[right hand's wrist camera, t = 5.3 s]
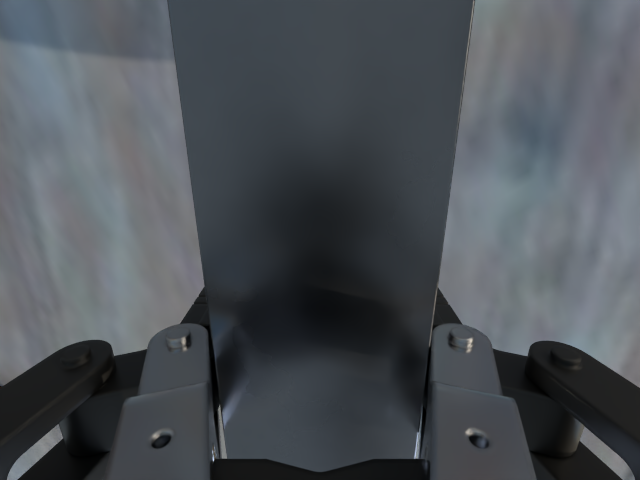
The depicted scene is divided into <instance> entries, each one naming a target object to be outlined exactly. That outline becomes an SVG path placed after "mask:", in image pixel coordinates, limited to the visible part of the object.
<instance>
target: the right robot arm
mask: <svg viewBox="0 0 640 480" xmlns="http://www.w3.org/2000/svg"><path fill="white" fill-rule="evenodd" d="M219 405H220V399H219V392H218V384H217V376H216V369H215V361H214V353H213V346H212V338H211V330H210V323H209V315H208V308H207V300H206V292H205V287H204V288H203V290H202V291H201V293H200V294H199V297H197V299H196V300H195V302H194V304H193V305H192V306H191V308H190V309H189V311H188V313H187V314H186V316H185V317H184V319H183V320H182V322H181V323H180V324H178V325H174V326H171V327H168V328H166V329H164V330H162V331H160V332H158V333H157V334H156V335H155V336H154V337H153V338H152V339H151V340H150V342H149V344H148V348H147V349H146V350H142V351H137V352H132V353H127V354H122V355H117V356H114V354H113V350H112V347H111V345H110V344H109V343H108V342H106V341H102V340H88V341H82V342H78V343H75V344H72V345H69V346H67V347H64V348H62V349H60V350H58V351H57V352H55V353H53V354H52V355H50V356H49V357H47V358H46V359H44V360H43V361H41V362H40V363H38V364H37V365H35V366H33V367H32V368H30V369H29V370H27V371H26V372H24V373H23V374H21V375H20V376H18V377H17V378H15V379H13V380H12V381H10V382H9V383H7V384H6V385H4V386H3V387H1V388H0V480H7V476H8V473H9V471H10V469H11V467H12V466H13V464H14V463H15V462H16V460H17V459H18V458H19V457H20V456H21V455H22V454H23V453H24V452H26V451H27V450H28V449H29V448H30V447H31V446H33V445H34V444H35V443H36V442H37V441H39V440H40V439H41V438H42V437H43V436H44V435H46V434H47V433H48V432H49V431H50V430H51V429H53V428H54V427H55V426H56V425H57V424H59V427H60V430H61V433H62V435H63V439H62V440H61V441H60V442H59V443H58V444H57V445H55V446H54V447H53V448H52V449H51V450H50V451H49V452H48V453H47V454H45V455H44V456H43V457H42V458H41V459H40V460H39V461H38V462H37V463H35V464H34V465H33V466H32V467H31V468H30V469H29V470H28V471H27V472H26V473H24V474H23V475H22V476H21V477H20V478H19V479H18V480H622V479H621V478H620V477H619V476H618V475H617V474H616V473H615V472H613V471H612V470H611V469H610V468H609V467H608V466H607V465H606V464H605V463H603V462H602V461H601V460H600V459H599V458H598V457H597V456H596V455H595V454H593V453H592V452H591V451H590V450H589V449H588V448H587V447H586V446H585V445H583V444H582V443H581V442H580V441H579V440H580V438H581V435H582V432H583V429H584V426H585V427H586V428H587V429H589V430H590V431H591V432H592V433H593V434H594V435H596V436H597V437H598V438H599V439H600V440H601V441H603V442H604V443H605V444H606V445H607V446H609V447H610V448H611V449H612V450H613V451H614V452H616V453H617V454H618V455H619V456H620V457H621V458H622V459H623V460H624V461H625V462H626V463H627V464H628V466H629V467H630V469H631V470H632V472H633V474H634V477H635V480H640V388H639V387H637V386H636V385H634V384H633V383H631V382H630V381H628V380H627V379H625V378H623V377H622V376H620V375H619V374H617V373H616V372H614V371H613V370H611V369H610V368H608V367H607V366H605V365H603V364H602V363H600V362H599V361H597V360H596V359H594V358H593V357H591V356H590V355H588V354H586V353H585V352H583V351H581V350H579V349H577V348H575V347H572V346H570V345H567V344H564V343H560V342H554V341H539V342H535V343H533V344H532V345H531V346H530V349H529V353H528V356H523V355H518V354H513V353H508V352H503V351H499V350H496V349H493V348H492V344H491V342H490V340H489V339H488V338H487V337H486V336H485V335H484V334H483V333H482V332H480V331H478V330H476V329H474V328H472V327H469V326H466V325H463V324H462V323H461V321H460V320H459V318H458V317H457V315H456V314H455V312H454V311H453V309H452V308H451V306H450V305H448V302H447V300H446V299H445V297H443V294H442V293H441V291H440V290H439V288H438V289H437V297H436V304H435V312H434V320H433V327H432V335H431V343H430V351H429V358H428V366H427V374H426V381H425V389H424V397H423V405H422V412H421V423H420V439H419V455H418V459H371V460H367V461H363V462H360V463H356V464H352V465H348V466H344V467H340V468H337V469H333V470H329V471H325V472H315V471H311V470H307V469H303V468H300V467H296V466H292V465H288V464H284V463H280V462H277V461H273V460H269V459H222V455H221V439H220V423H219V412H218V408H219Z"/></svg>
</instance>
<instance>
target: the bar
mask: <svg viewBox="0 0 640 480" xmlns="http://www.w3.org/2000/svg"><path fill="white" fill-rule="evenodd" d="M167 2H168V9H169V17H170V24H171V32H172V40H173V47H174V55H175V63H176V70H177V78H178V86H179V93H180V101H181V109H182V116H183V124H184V132H185V139H186V147H187V155H188V162H189V170H190V177H191V185H192V193H193V200H194V208H195V216H196V223H197V231H198V239H199V246H200V254H201V262H202V269H203V277H204V285H205V292H206V300H207V308H208V315H209V323H210V330H211V338H212V346H213V353H214V361H215V369H216V376H217V384H218V392H219V399H220V407H221V415H222V422H223V430H224V438H225V445H226V453H227V459H269V460H273V461H277V462H280V463H284V464H288V465H292V466H296V467H300V468H303V469H307V470H311V471H315V472H325V471H329V470H333V469H337V468H340V467H344V466H348V465H352V464H356V463H360V462H363V461H367V460H371V459H415V458H416V450H417V443H418V435H419V427H420V420H421V412H422V404H423V397H424V389H425V381H426V374H427V366H428V358H429V351H430V343H431V335H432V327H433V320H434V312H435V304H436V297H437V289H438V281H439V274H440V266H441V258H442V251H443V243H444V235H445V227H446V220H447V212H448V204H449V197H450V189H451V181H452V174H453V166H454V158H455V151H456V143H457V135H458V128H459V120H460V112H461V104H462V97H463V89H464V81H465V74H466V66H467V58H468V51H469V43H470V35H471V28H472V20H473V12H474V5H475V0H167Z"/></svg>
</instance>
